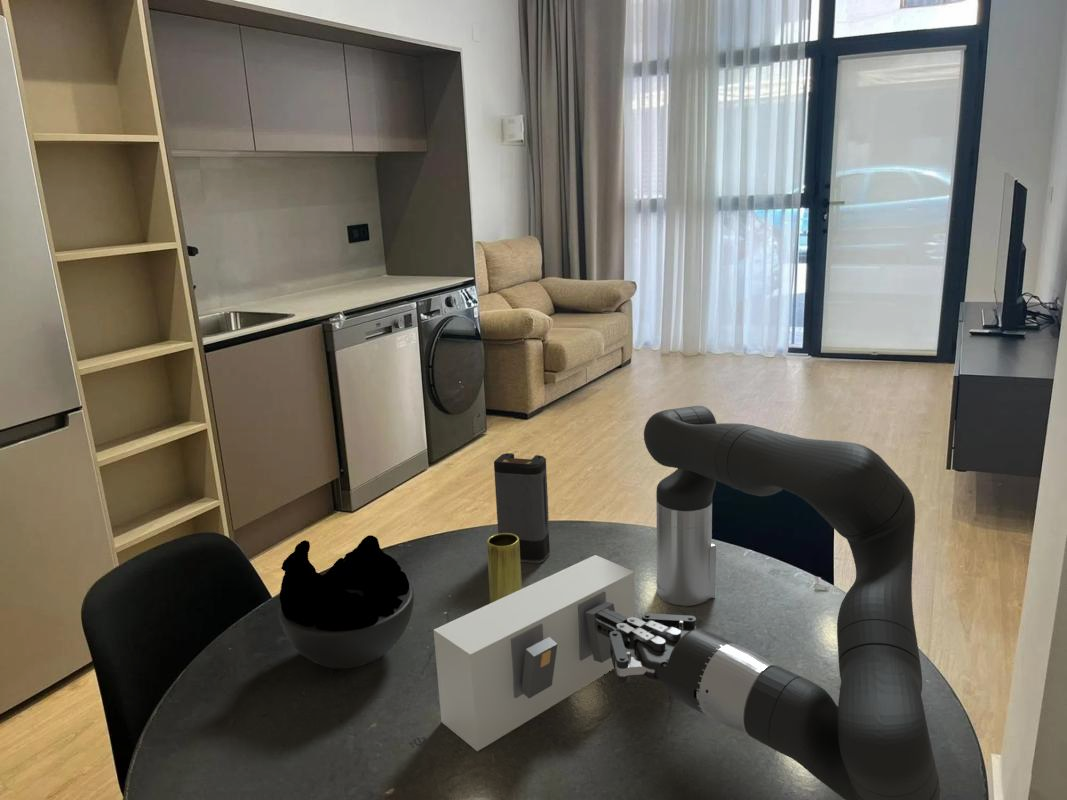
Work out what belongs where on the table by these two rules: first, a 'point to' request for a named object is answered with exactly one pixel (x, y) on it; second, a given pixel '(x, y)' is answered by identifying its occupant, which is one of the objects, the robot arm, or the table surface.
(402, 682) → the table surface
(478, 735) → the power box
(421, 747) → the table surface
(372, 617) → the coal bowl
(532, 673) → the outer rocker
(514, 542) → the vase
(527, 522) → the electronic device
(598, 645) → the block
